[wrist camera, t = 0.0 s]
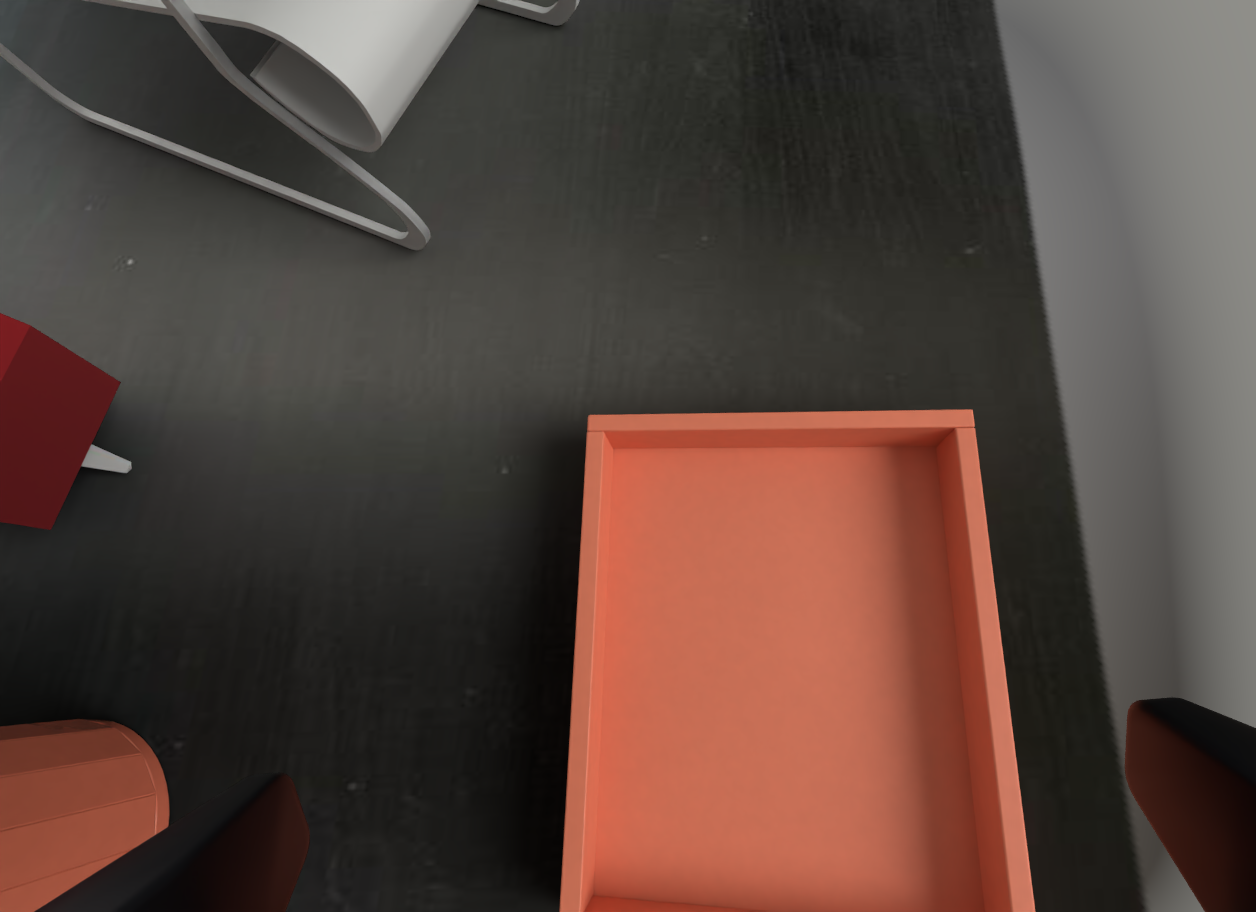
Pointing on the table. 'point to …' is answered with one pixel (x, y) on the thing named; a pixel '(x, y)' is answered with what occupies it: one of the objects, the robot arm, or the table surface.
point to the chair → (323, 77)
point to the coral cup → (72, 805)
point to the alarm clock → (47, 423)
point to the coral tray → (789, 670)
